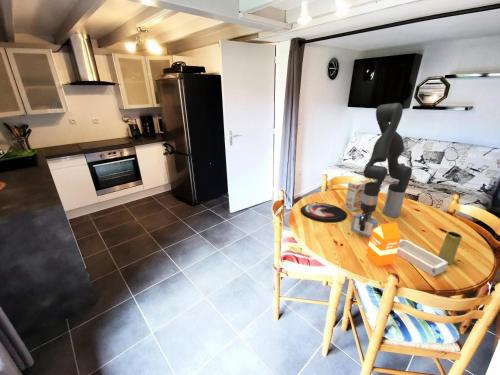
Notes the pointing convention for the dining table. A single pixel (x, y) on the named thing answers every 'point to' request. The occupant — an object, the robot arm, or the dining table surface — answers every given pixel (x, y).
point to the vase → (450, 247)
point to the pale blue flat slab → (369, 225)
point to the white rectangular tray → (421, 258)
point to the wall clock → (324, 212)
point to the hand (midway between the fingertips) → (363, 228)
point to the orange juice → (384, 244)
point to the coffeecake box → (355, 194)
